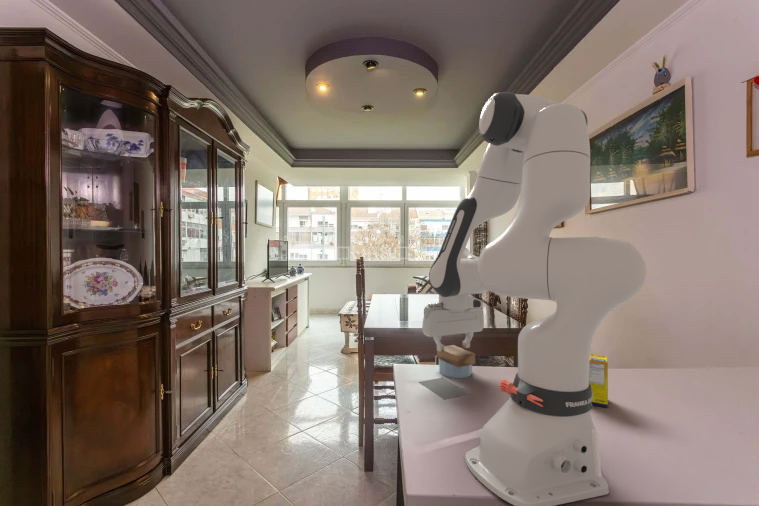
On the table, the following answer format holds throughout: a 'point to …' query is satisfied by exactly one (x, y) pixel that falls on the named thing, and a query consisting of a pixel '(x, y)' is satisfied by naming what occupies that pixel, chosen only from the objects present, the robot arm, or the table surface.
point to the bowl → (454, 370)
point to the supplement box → (599, 379)
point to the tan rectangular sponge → (456, 356)
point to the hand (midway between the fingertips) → (453, 349)
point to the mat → (444, 388)
